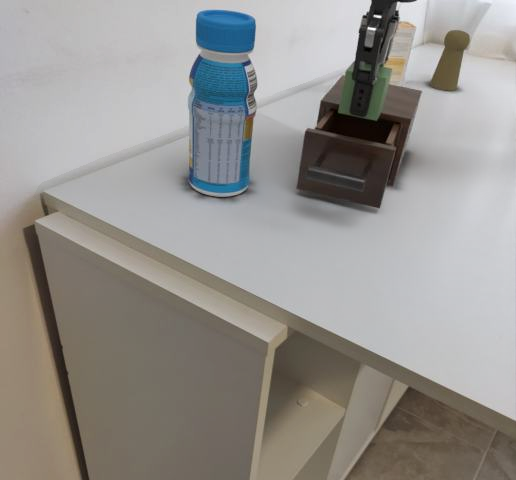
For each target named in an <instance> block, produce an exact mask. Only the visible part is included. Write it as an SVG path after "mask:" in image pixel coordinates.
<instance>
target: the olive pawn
mask: <svg viewBox="0 0 516 480" xmlns="http://www.w3.org/2000/svg"><path fill="white" fill-rule="evenodd" d="M470 41H471V37H470V34H469V33H468V32H466V31H463V30H460V29H453V30H449V31H448V32H447V33H446V35H445V36H444V39H443V44H444V48H443V51H442V53H441V55H440V58H439V60H438V63H437V65H436V67H435V70H434V73H433V74H432V77H431V79H430V82H429V86H431V87H432V88H434V89H436V90H441V91H448V92H451V91H456V90H457V89H458V83H459V78H460V73H461V68H462V62H463V57H464V54H465V53H464V52H465V50H466V49H467V48H468V47H469V45H470Z"/></svg>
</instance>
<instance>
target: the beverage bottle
mask: <svg viewBox="0 0 516 480" xmlns="http://www.w3.org/2000/svg"><path fill="white" fill-rule="evenodd" d="M256 21H257V20H256V18H254V16H252V15H250V14H247V13H245V12H244V13H243V12H239V11H236V10H235V11H234V10H226V9H207V10H201V11H199V12H197V14H196V19H195V44H196V47H197V49H199V50H200V52H199V54H198V55H197V57H196V58H195V60H194V62H193V64H192V66H191V69H190V72H189V76H188V82H189V84H190V87H191V90H190V92H189V95H188V96H187V97H188V98H187V109H188V146H189V147H188V148H189V149H188V164H189V165H188V183H189V186H191V188H193V189H194V190H195V191H197V192H199V193H201V194H204V195H207V196H211V197H218V198H219V197H220V198H224V197H226V198H227V197H228V198H229V197H234V196H238V195H240V194H242V193H244V192H245V191H246V190H247V189H248V187H249V184H250V166H251V165H250V162H251V153H252V152H251V151H252V141H253V140H252V139H253V130H254V129H253V128H254V119H255V117H256V114H257V107H258V106H257V100H256V97H255V92H256V90H257V88H258V77H257V73H256V70H255V67H254V65H253V62H252V60H251V58H250V57H249V56H250V54H252V53H253V52H254V48H255V44H256V43H255V42H256V30H257V25H256V24H257V23H256Z"/></svg>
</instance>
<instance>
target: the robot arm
mask: <svg viewBox="0 0 516 480" xmlns="http://www.w3.org/2000/svg"><path fill="white" fill-rule="evenodd" d="M370 1H371V2H370V7H369V10H368V11H366V13H365V14H363V15H362V17H361V21H360V24H359V29H358V38H357V45H356V50H355V57H354V61H355V63H354V69H353V72H352V80H354V82H355V85H354V90H353V95H352V100H351V105H350V114H352V115H356V116H360V117H365V116H366V115H367V113H368V109H369V104H370V100H371V95H372V91H373V86H374V84H375V82H376V80H377V78H376V76H377V73H378V69H379V66H382V67H385V65H384V64H386V61H388V56H389V54H390V52H391V49H392V44H393V39H394V34H395V33H396V31H397V28H398V25H399V21H401V20H400V19H401V17H400V12H399V11H400V10H398V9H397V7H398V3H403V4H405V3H408V4H409V3H414V2H415V3H416V2H417V1H418V0H370ZM363 63H366V64H371V71H367V70H362V65H363Z"/></svg>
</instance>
